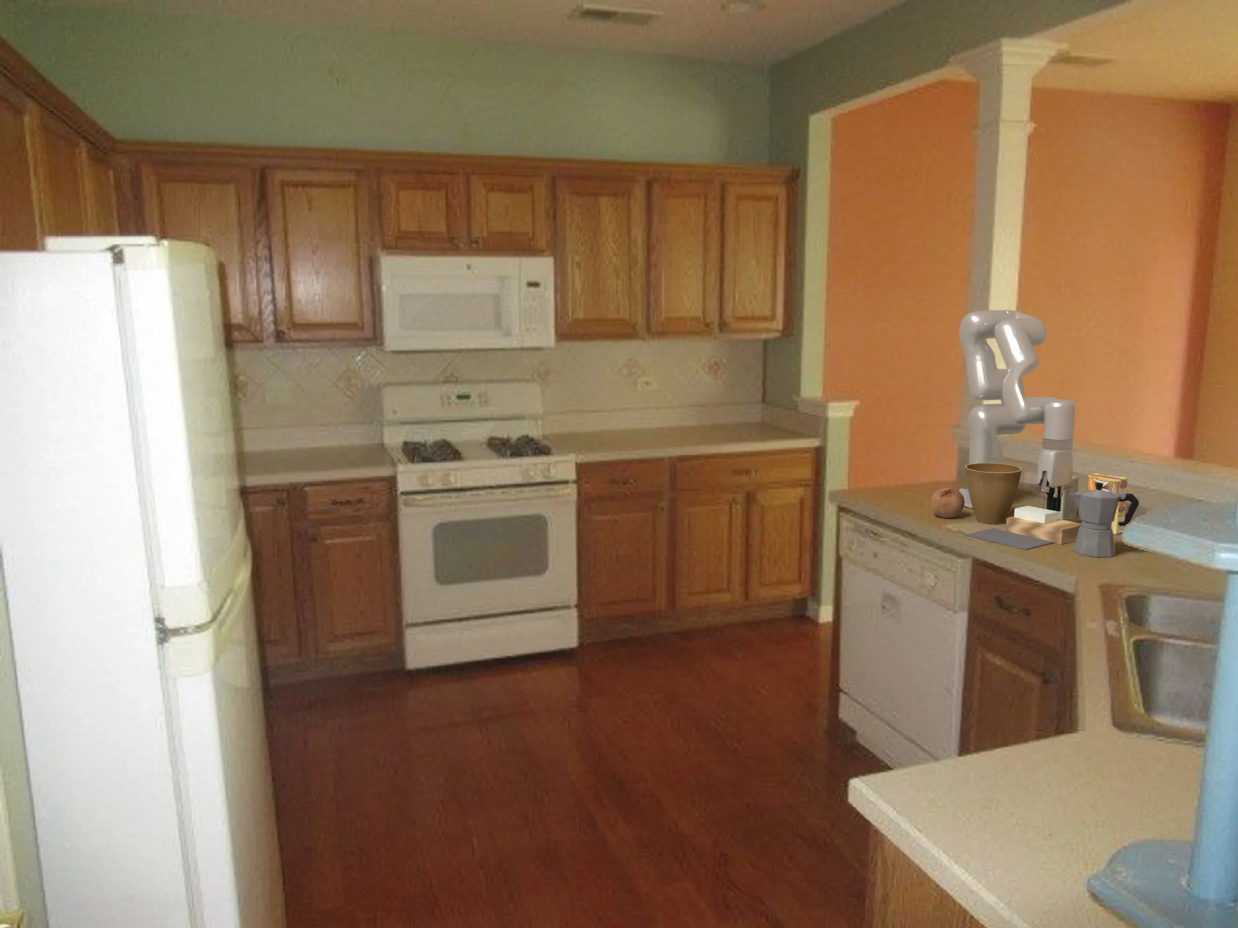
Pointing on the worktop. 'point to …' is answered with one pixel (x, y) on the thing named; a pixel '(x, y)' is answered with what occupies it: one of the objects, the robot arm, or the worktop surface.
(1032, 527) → the wooden block
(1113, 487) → the candy box
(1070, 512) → the skincare box
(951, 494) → the onion
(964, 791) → the worktop surface
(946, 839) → the worktop surface
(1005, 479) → the plant pot
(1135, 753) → the worktop surface
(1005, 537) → the mat
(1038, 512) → the white rectangular block
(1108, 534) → the coffeepot
